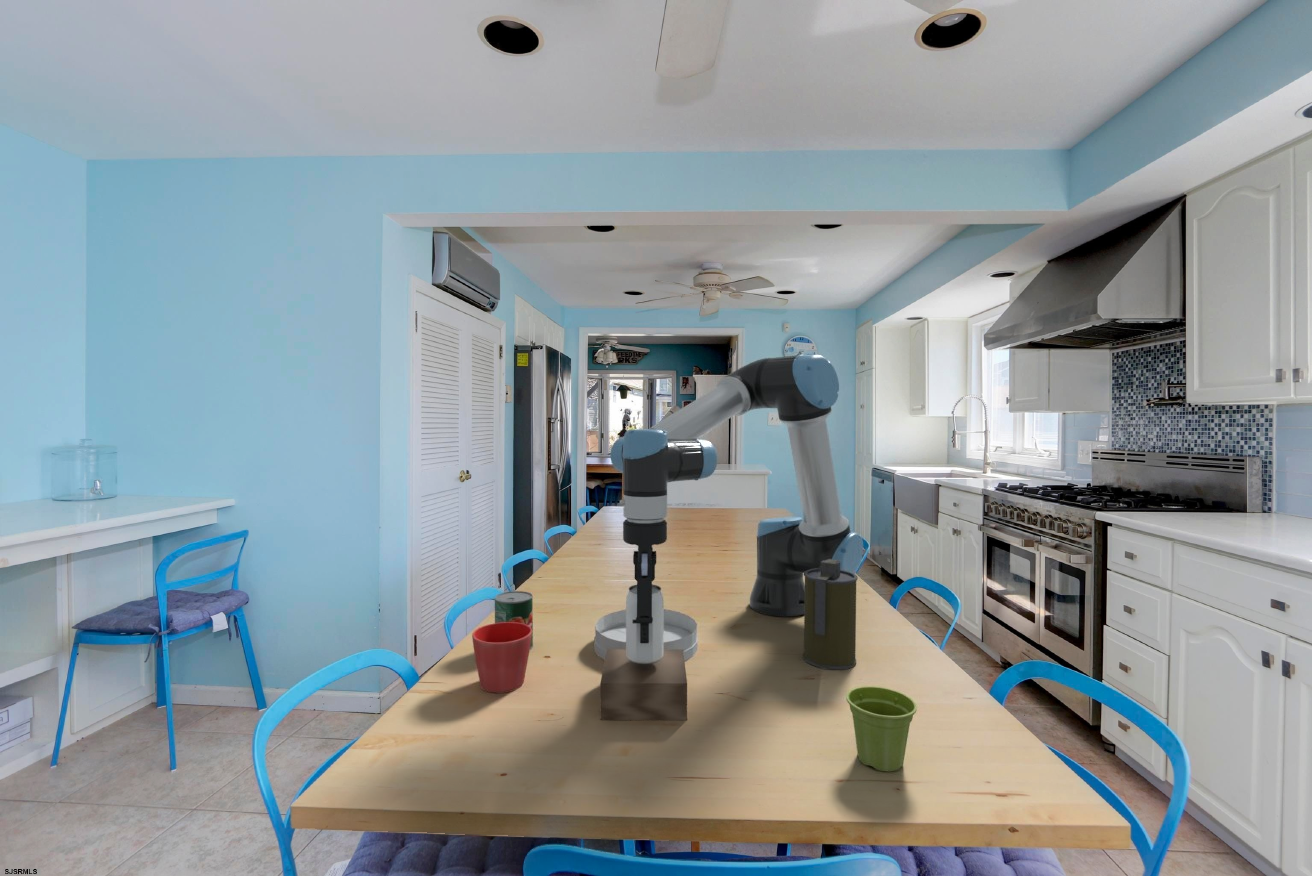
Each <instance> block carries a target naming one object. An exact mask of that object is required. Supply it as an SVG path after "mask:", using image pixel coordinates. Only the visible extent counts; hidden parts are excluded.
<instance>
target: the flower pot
mask: <svg viewBox="0 0 1312 876" xmlns="http://www.w3.org/2000/svg"><path fill="white" fill-rule="evenodd" d="M471 637H472V638H471V639H472V645H473V646H472V647H473V650H474V652H473V653H474V659H475V663H476V669H477V673H478V678H479V679H478V680H479V685H480V688H482V690H483V691H485V692H488V693H496V694H498V693H499V694H501V693H507V692H509V693H510V692H512V691H515V690H517V689H519V688H520V687H522V685H523V684H524V683H525V677H526V671H527V666H528V661H529V655H530V645H531V638H532V629H531V627H530V626H528V625H526V624H523V623H517V622H500V623H495V622H493V623H489V624H485V625H482V626H480V627H478V628H477V629H475V630H474V631H473V632H472V635H471Z"/></svg>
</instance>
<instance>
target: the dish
mask: <svg viewBox="0 0 1312 876" xmlns="http://www.w3.org/2000/svg"><path fill="white" fill-rule="evenodd" d="M594 625H595V626H594V630H595V631H594V633H595V636H594V637H593V638H594V641H593V642H594V643H593V644H594V652H595V653H596V655H597V656H598V657H599V656H600V657H599V658H601V659H602V660H604V659H605V658H606V653H607V649H626V609H622V610H617V611H614V612H613V611H612V612H610V613H608V614H605V615H603V616H602V617H600V618H599V619H597V621H596V622H595V624H594ZM697 630H698V623H697V622H696V620H695V619H694V618H693V617H692V616H690V615H687V614H686V613H683V612H680V611H677V610H671V609H666V608H665V609H664V643H663V649H683V654H684V662H686V661H688V660H690V659H691V658H692V657H694V656H695V655H696V653H697V652H698V647H699V641H698V640H699V637H698V631H697Z"/></svg>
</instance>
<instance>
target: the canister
mask: <svg viewBox="0 0 1312 876" xmlns="http://www.w3.org/2000/svg"><path fill="white" fill-rule="evenodd" d="M803 577H804V584H805V605H804V614H803V617H804V619H803V620H804V621H803V627H804V628H803V630H804V631H803V653H802V658H803V660H804V661H805V662H806V663H807V664H810V665H812V666H814V667H816V668H819V669H823V670H829V671H843V670H849V669H852V668H853V667H854V666H855V665H856V664H857V659H856V645H857V644H856V640H857V639H856V638H857V637H856V635H857V634H856V631H857V629H856V627H857V581H858V575H856V573H855V574H854V573H851V572H848V571H845V570H840V561H839V560H833V559H828V560H825V561H821V564H820V567H818V568H815V569H809V570H807V571H805V572H804V573H803Z"/></svg>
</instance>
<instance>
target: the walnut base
mask: <svg viewBox="0 0 1312 876" xmlns="http://www.w3.org/2000/svg"><path fill="white" fill-rule="evenodd" d="M685 662H686V661H684V654H683V649H663V657H662V658H661V660H659V661H658V662H655V663H651V664H638V663H634V662H631V661H630V660H629V659H628V658H627V656H626V649H607V653H606V658H605V660H604V662H603V663H604V664H603V669H602V673H601V678H600V683H599V685H600V687H599V689H600V690H599V693H600V694H599V695H600V699H599V701H600V703H599V707H600V708H599V709H600V715H599V717H600V718H599V719H600V721H687V720H688V679H687V672H686V663H685Z"/></svg>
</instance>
